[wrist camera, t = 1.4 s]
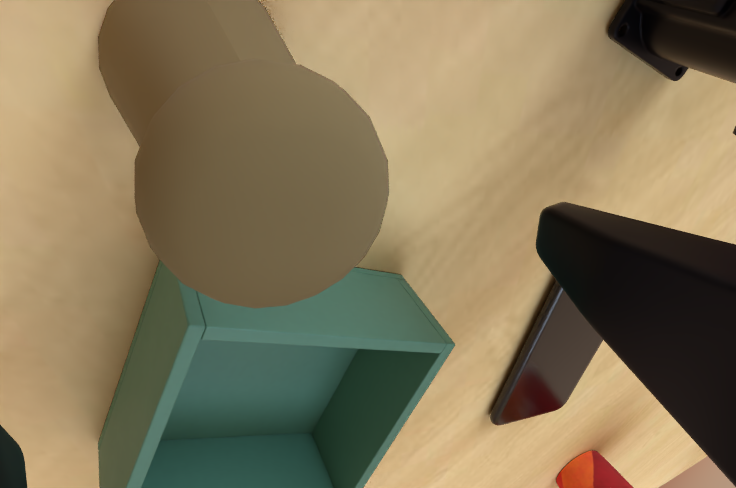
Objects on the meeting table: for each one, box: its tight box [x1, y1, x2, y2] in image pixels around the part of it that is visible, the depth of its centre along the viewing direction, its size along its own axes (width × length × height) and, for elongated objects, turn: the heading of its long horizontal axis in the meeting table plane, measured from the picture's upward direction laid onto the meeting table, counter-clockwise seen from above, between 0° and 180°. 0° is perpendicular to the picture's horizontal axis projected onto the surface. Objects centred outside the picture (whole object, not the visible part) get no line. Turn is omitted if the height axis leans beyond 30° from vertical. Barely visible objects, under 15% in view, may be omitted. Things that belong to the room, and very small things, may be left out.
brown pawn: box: [98, 0, 389, 308], centre depth 14 cm, size 6×6×11 cm
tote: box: [98, 261, 455, 488], centre depth 25 cm, size 12×12×6 cm
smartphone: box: [490, 280, 603, 425], centre depth 38 cm, size 8×1×16 cm
